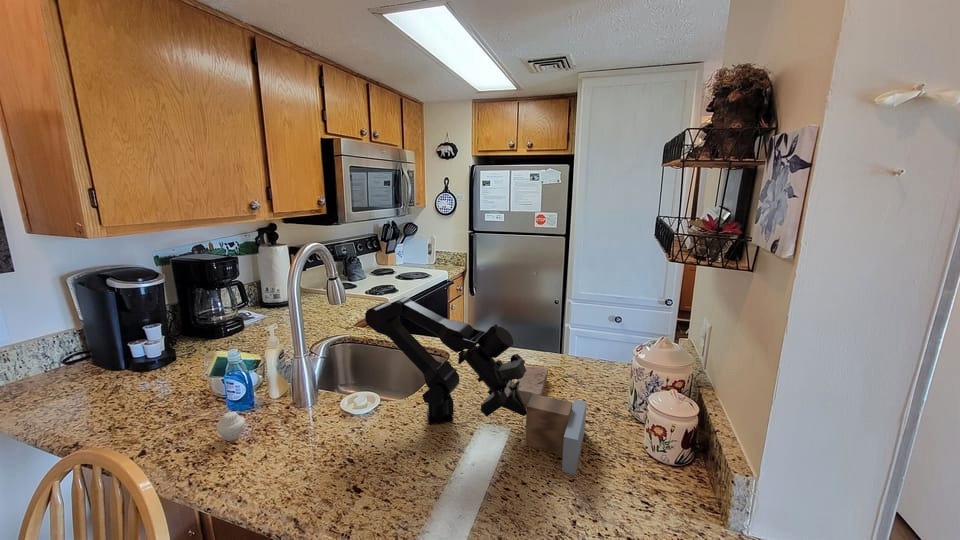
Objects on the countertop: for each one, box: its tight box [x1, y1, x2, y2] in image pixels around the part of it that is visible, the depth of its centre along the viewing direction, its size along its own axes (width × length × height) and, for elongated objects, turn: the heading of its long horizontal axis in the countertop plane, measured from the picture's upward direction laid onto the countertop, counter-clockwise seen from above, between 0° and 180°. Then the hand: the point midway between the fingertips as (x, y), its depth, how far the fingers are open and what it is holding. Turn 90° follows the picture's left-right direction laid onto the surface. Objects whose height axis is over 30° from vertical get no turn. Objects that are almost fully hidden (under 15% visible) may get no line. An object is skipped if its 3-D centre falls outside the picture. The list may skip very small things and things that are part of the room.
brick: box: [515, 365, 549, 406], centre depth 118 cm, size 17×8×5 cm, turn 162°
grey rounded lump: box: [216, 411, 246, 442], centre depth 96 cm, size 6×6×7 cm
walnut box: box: [524, 394, 573, 456], centre depth 94 cm, size 10×6×11 cm, turn 68°
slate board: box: [561, 399, 588, 476], centre depth 91 cm, size 3×16×9 cm, turn 158°
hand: (525, 414), depth 95 cm, fingers closed
